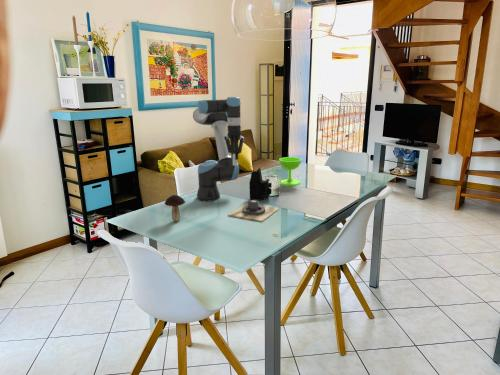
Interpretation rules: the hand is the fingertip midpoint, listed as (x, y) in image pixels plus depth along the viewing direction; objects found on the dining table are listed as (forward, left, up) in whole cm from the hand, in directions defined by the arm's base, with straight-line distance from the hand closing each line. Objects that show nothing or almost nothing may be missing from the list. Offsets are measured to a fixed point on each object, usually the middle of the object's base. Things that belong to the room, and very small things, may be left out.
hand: (235, 164), depth 212 cm
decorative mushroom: (-17, -36, -26) cm, 48 cm away
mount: (+15, -6, -26) cm, 30 cm away
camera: (+7, +19, -26) cm, 33 cm away
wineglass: (+10, +61, -26) cm, 67 cm away
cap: (+15, -6, -25) cm, 30 cm away
